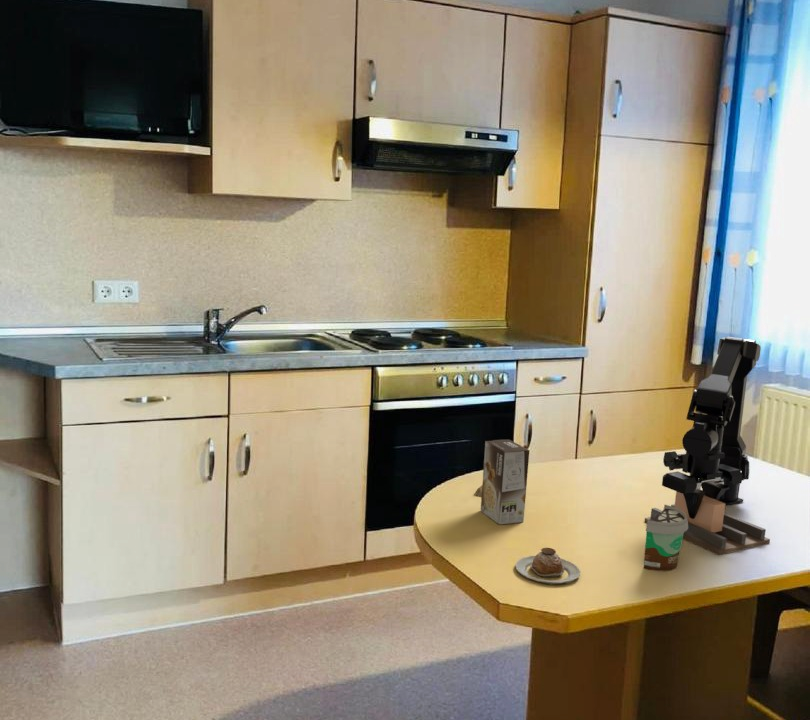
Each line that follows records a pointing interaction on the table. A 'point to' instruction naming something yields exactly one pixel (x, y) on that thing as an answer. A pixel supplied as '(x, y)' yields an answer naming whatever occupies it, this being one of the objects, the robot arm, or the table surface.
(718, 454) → the robot arm
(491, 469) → the coffee box
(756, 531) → the ribbed brown panel
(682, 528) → the food container
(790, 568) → the table surface
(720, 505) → the terracotta strip
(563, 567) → the pastry
